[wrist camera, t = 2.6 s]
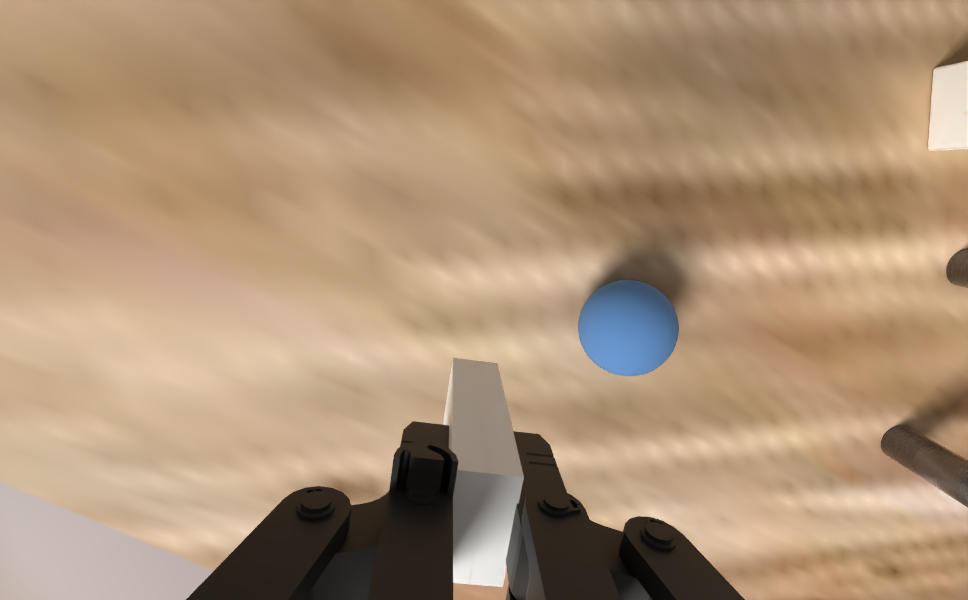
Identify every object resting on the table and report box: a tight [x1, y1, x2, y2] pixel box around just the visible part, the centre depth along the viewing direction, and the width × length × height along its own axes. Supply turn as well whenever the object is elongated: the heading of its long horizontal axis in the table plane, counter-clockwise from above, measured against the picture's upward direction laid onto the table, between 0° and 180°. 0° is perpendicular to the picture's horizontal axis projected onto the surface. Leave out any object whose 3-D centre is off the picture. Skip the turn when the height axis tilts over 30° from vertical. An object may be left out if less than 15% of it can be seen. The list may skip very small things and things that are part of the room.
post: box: [881, 426, 968, 507], centre depth 30 cm, size 2×2×9 cm
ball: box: [578, 280, 679, 376], centre depth 29 cm, size 6×6×6 cm
